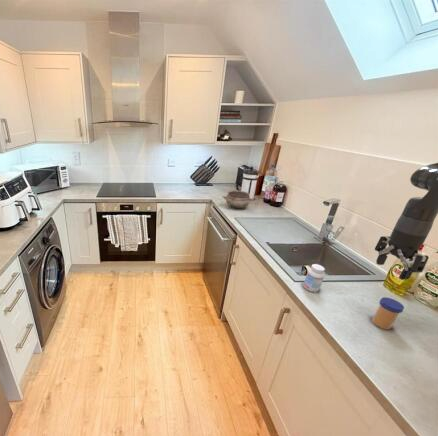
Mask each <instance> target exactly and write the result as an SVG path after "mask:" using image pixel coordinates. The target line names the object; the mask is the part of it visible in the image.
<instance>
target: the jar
mask: <svg viewBox="0 0 438 436" xmlns="http://www.w3.org/2000/svg"><path fill="white" fill-rule="evenodd" d="M399 315H400V313H394V312H391V311H388V310H386V309H385V308H383V307H382V306H381V305H380V304H379V305H378V307H377V309H376V311H375V312H374V315H373V317H372V319H371V321H372V323H373V324H374V325H375V326H377V327H379V328H381V329H383V330H391V328H392V327H393V325H394V324H395V322H396V320H397V319H398V316H399Z"/></svg>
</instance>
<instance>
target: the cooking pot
mask: <svg viewBox="0 0 438 436" xmlns="http://www.w3.org/2000/svg"><path fill="white" fill-rule="evenodd" d="M249 196H250V194H249V193H248V192H245V191H238V190H237V189H234V190H228V191H227V195H226V196H224V195H222V198H223V199H224V200H225V201H226V203H227V205H229V207H231V208H233V209H237V210H239V209H243V208H245V207H248V205H250V202H253V201H254V199H255V197H254V198H250V197H249Z"/></svg>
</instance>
